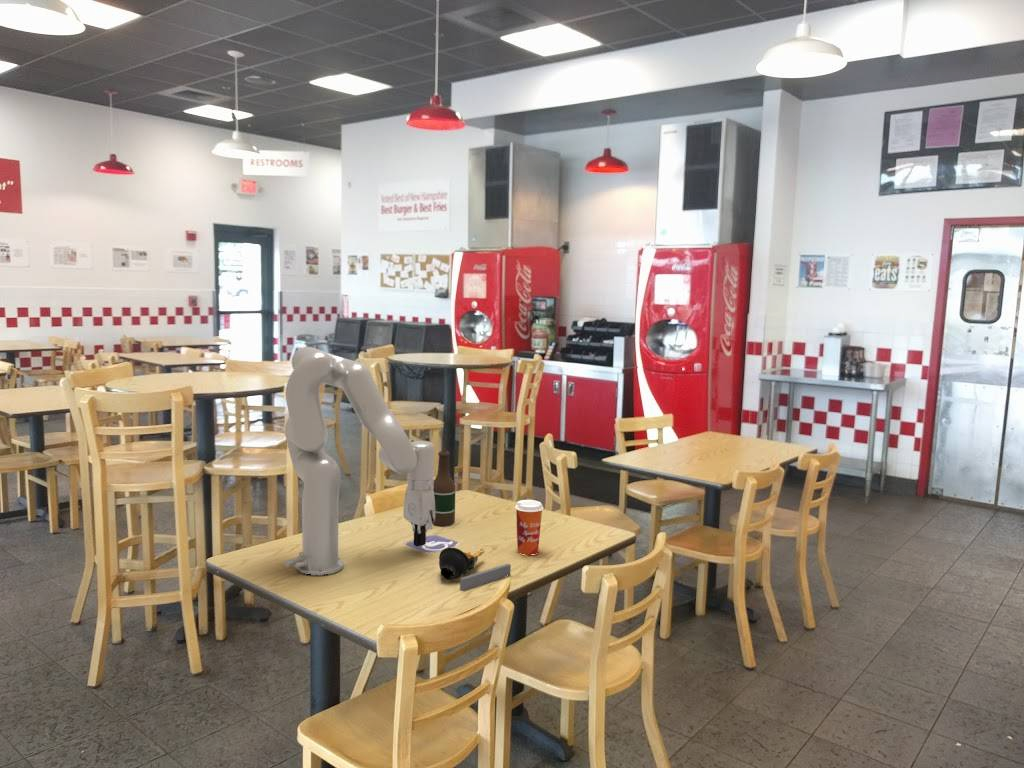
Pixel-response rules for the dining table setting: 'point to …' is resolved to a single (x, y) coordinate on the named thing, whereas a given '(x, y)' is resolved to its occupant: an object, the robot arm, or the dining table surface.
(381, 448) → the robot arm
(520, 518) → the coffee cup
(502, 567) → the rail
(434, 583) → the dining table surface
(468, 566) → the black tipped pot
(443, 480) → the beer bottle
